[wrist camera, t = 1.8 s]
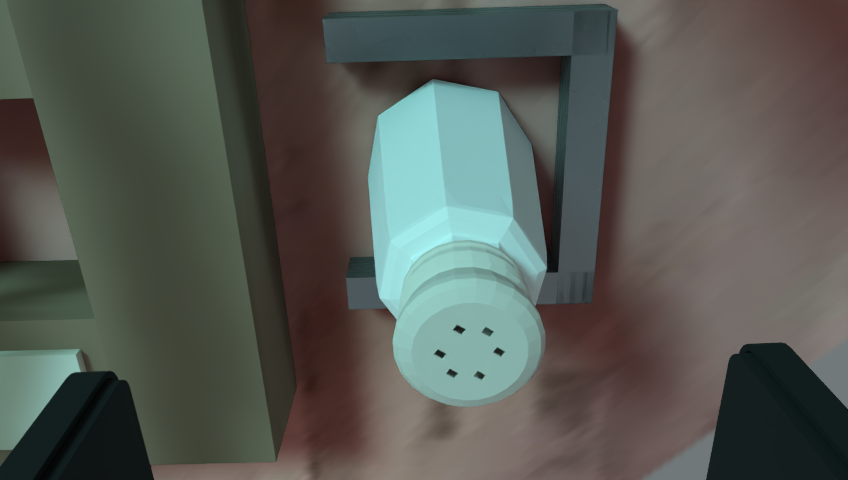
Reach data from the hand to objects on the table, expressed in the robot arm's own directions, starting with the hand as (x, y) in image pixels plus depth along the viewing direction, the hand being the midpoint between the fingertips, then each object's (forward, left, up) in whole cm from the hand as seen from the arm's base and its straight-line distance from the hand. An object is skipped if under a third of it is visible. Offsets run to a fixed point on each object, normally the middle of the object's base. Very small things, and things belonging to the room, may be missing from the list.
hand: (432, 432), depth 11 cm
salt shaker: (-1, 0, -13) cm, 13 cm away
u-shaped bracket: (-1, 0, -13) cm, 13 cm away
